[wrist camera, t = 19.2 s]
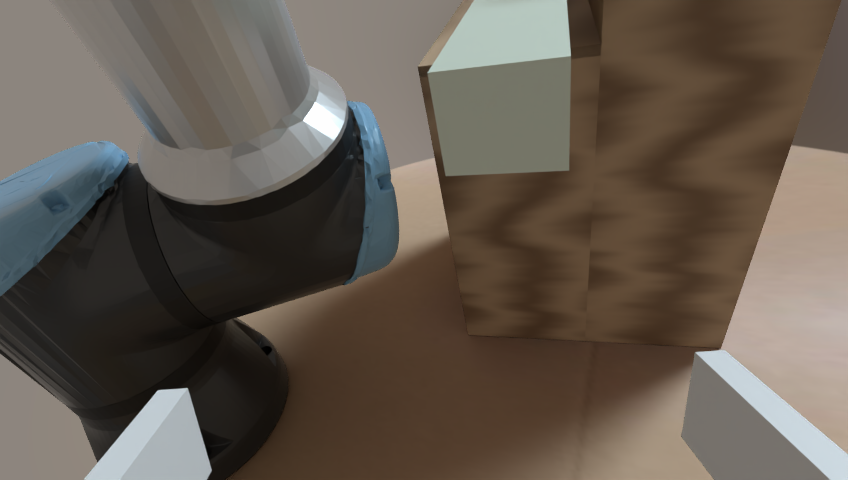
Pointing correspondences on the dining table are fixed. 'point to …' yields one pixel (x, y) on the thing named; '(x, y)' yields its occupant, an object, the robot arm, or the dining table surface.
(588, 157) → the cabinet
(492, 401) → the dining table surface
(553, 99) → the mint green square beam
